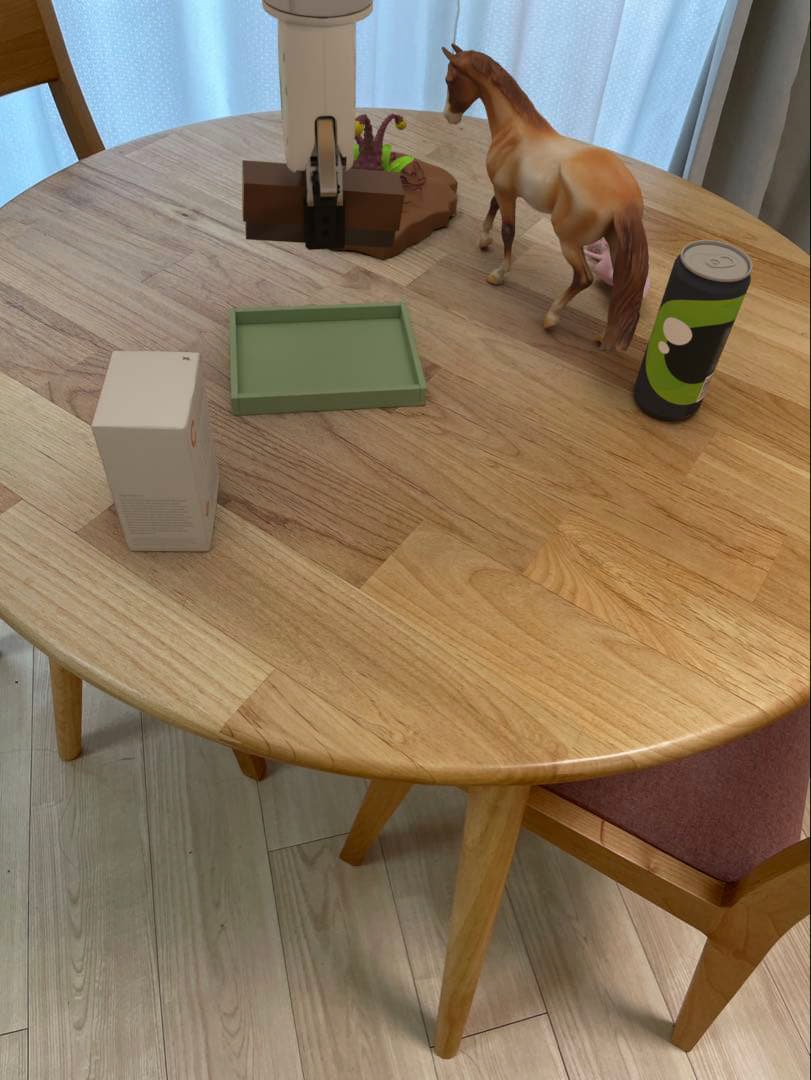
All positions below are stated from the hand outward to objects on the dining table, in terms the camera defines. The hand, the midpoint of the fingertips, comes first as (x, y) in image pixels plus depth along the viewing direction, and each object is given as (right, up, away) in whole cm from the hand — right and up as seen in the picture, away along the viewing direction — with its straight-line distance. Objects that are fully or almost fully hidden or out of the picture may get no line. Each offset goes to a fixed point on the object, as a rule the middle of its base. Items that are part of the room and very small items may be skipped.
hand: (322, 230), depth 72 cm
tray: (-1, -9, +10) cm, 14 cm away
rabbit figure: (+29, +2, +22) cm, 37 cm away
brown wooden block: (0, 0, 0) cm, 0 cm away
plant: (+2, +13, +29) cm, 32 cm away
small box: (-11, -24, -3) cm, 26 cm away
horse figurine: (+18, -2, +18) cm, 25 cm away
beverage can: (+31, -13, +10) cm, 35 cm away
